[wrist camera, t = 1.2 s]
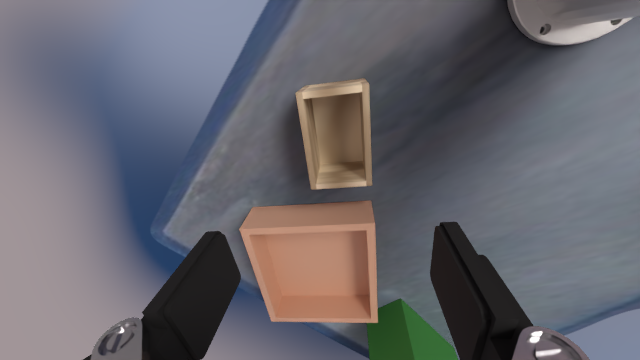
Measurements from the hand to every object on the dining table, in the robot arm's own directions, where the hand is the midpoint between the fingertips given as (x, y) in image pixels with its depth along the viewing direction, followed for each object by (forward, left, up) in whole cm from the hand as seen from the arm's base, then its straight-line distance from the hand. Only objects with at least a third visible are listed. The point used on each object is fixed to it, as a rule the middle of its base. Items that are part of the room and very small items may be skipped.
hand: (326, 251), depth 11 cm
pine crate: (0, 0, -20) cm, 20 cm away
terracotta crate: (+5, +20, -20) cm, 29 cm away
